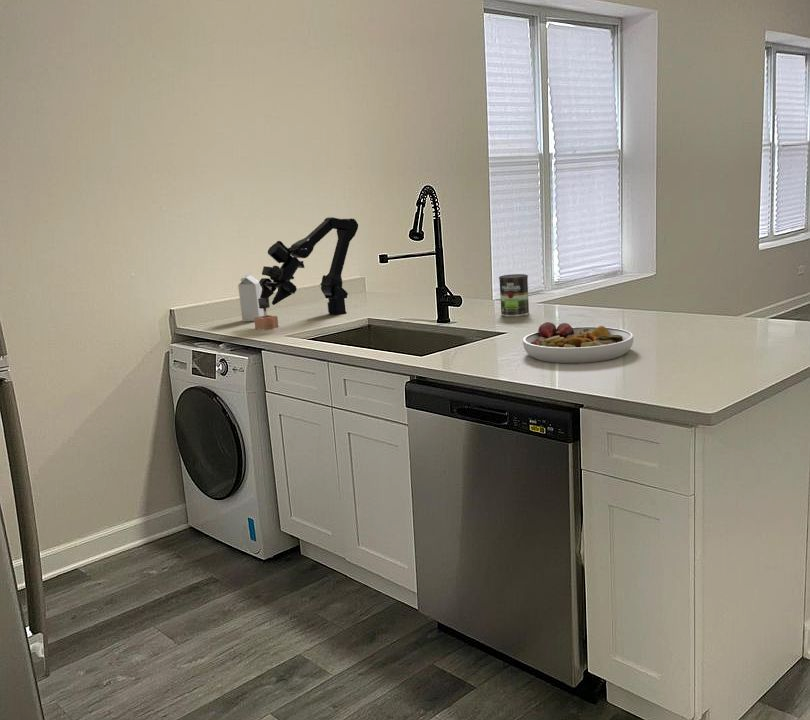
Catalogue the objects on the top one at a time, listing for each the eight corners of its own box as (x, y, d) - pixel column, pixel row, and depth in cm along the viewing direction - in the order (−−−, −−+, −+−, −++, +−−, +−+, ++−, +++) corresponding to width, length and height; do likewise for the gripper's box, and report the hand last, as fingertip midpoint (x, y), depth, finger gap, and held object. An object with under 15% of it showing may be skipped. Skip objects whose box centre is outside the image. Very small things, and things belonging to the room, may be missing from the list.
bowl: (657, 350, 231) (656, 322, 229) (580, 371, 214) (579, 341, 212) (575, 339, 255) (574, 313, 253) (501, 357, 238) (500, 330, 237)
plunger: (268, 322, 324) (265, 297, 322) (273, 323, 321) (270, 297, 319) (259, 324, 321) (256, 298, 319) (264, 324, 318) (261, 299, 316)
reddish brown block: (269, 325, 326) (268, 314, 325) (282, 327, 319) (281, 316, 318) (255, 328, 322) (253, 317, 321) (267, 330, 315) (266, 319, 314)
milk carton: (264, 318, 346) (258, 272, 342) (259, 321, 339) (254, 274, 335) (247, 319, 347) (241, 273, 343) (242, 322, 340) (236, 275, 336)
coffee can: (525, 316, 299) (523, 277, 296) (497, 317, 303) (495, 278, 300) (532, 311, 308) (530, 273, 305) (505, 312, 312) (503, 274, 309)
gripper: (260, 257, 327) (238, 290, 322) (286, 258, 313) (264, 292, 308) (280, 274, 333) (259, 306, 329) (306, 276, 319) (285, 309, 315)
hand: (266, 303), depth 320 cm, fingers open, 9 cm apart
